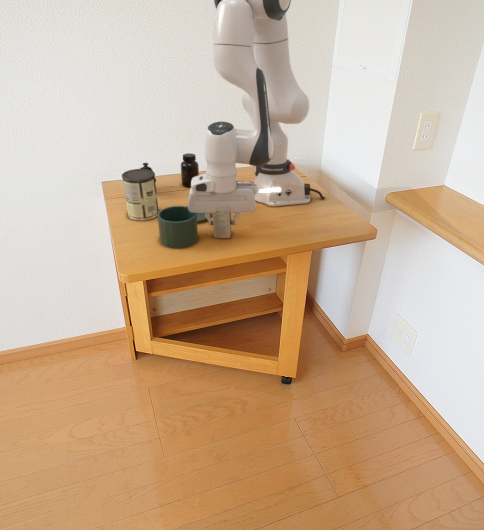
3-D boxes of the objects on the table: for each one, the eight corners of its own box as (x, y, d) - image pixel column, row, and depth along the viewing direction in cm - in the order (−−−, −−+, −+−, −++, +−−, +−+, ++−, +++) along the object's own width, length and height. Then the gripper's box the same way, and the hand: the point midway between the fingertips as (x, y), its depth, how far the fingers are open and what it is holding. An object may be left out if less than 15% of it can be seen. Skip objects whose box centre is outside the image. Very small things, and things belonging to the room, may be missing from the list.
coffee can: (136, 206, 143) (131, 167, 136) (163, 209, 142) (160, 170, 134) (121, 218, 135) (115, 177, 127) (150, 222, 133) (146, 181, 126)
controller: (152, 185, 160) (149, 160, 154) (158, 197, 150) (156, 171, 145) (141, 186, 158) (138, 161, 153) (147, 199, 149) (144, 172, 143)
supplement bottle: (201, 187, 160) (199, 157, 153) (183, 189, 158) (181, 158, 151) (197, 181, 165) (195, 151, 159) (180, 182, 163) (178, 152, 157)
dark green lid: (211, 208, 144) (211, 196, 142) (211, 224, 134) (211, 212, 132) (176, 208, 143) (175, 197, 140) (173, 224, 133) (172, 212, 130)
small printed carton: (231, 232, 129) (231, 202, 124) (229, 238, 126) (229, 208, 120) (215, 230, 130) (214, 201, 124) (213, 237, 126) (212, 207, 120)
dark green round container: (198, 230, 130) (196, 205, 125) (197, 248, 120) (196, 222, 116) (162, 230, 129) (159, 206, 124) (158, 248, 119) (155, 222, 115)
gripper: (256, 177, 122) (254, 219, 129) (186, 178, 120) (189, 220, 127) (258, 185, 117) (256, 228, 124) (186, 186, 114) (188, 229, 122)
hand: (222, 224), depth 126 cm, fingers closed on small printed carton, 5 cm apart
